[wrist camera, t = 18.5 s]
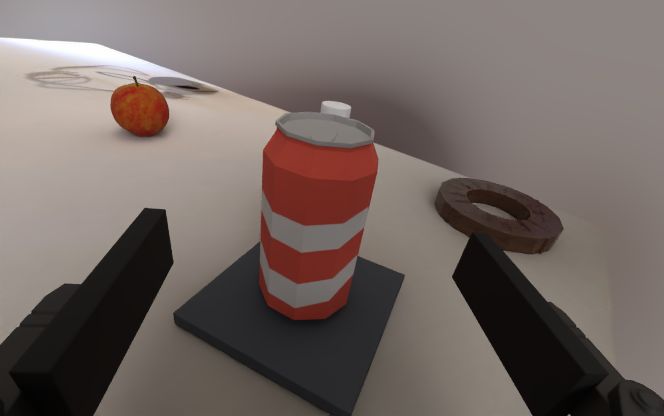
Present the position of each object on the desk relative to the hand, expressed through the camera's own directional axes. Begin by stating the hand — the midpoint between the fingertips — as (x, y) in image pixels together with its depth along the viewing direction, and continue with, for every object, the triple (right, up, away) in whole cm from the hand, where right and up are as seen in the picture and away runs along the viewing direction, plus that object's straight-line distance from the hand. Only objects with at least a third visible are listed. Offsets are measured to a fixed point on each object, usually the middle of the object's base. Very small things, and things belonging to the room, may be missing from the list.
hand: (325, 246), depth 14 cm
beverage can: (-2, -4, +9) cm, 10 cm away
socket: (+20, 0, +25) cm, 32 cm away
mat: (-2, -5, +9) cm, 11 cm away
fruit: (-27, +12, +32) cm, 43 cm away
